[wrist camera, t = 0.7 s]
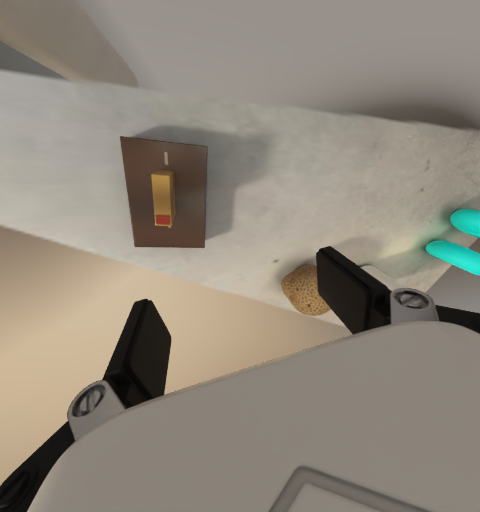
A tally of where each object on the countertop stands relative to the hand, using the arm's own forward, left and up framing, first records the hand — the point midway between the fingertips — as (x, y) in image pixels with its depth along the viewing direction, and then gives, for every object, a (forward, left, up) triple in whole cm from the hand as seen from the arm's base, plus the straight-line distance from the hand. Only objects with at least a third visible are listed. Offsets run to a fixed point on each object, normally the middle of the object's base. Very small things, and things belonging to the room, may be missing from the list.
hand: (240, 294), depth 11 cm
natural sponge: (+13, +18, -24) cm, 33 cm away
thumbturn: (-2, -6, -21) cm, 21 cm away
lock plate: (-1, -6, -24) cm, 24 cm away
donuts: (+3, +49, -24) cm, 55 cm away
